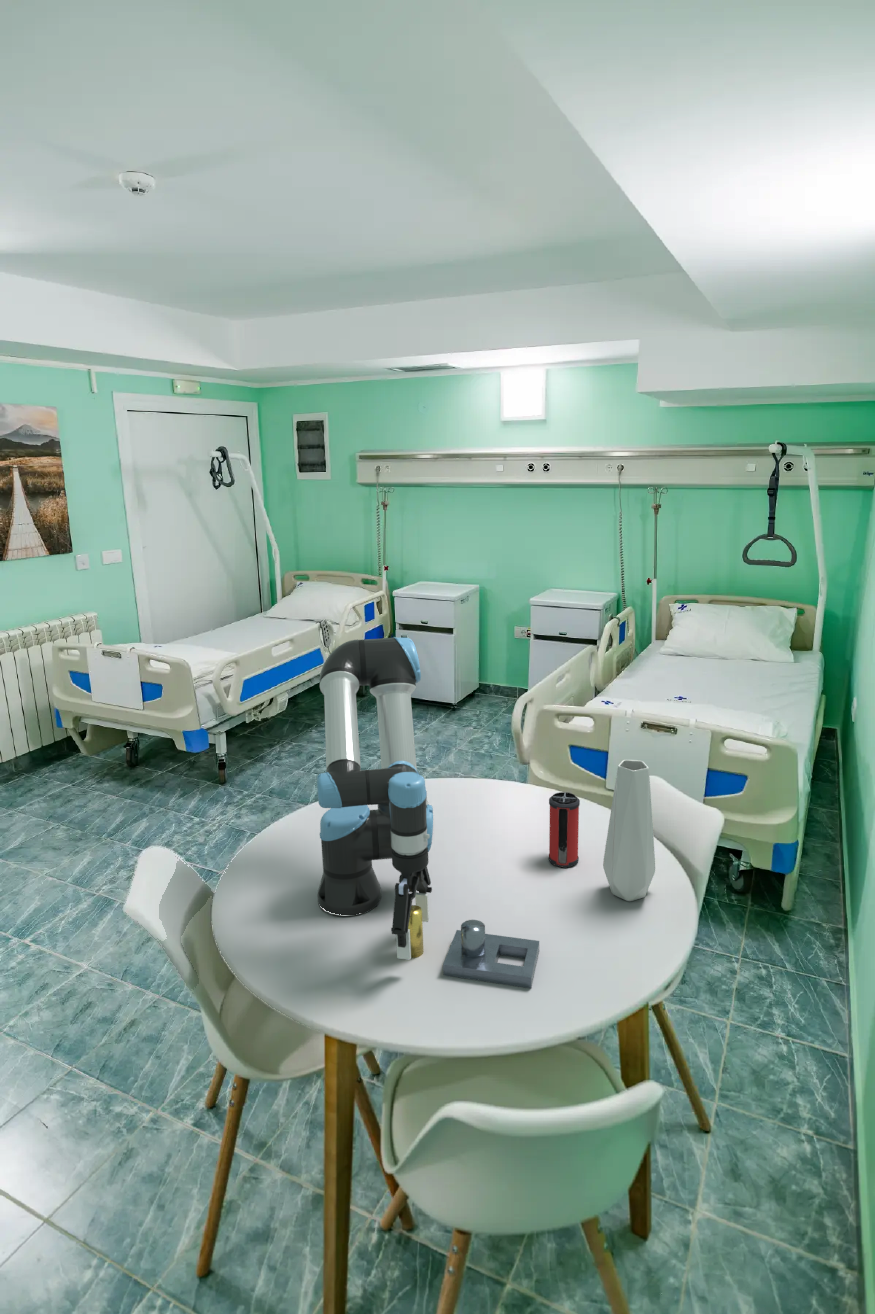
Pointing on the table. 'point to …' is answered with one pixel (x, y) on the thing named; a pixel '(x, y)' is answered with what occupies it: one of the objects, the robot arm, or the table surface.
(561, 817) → the speaker
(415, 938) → the round pin
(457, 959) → the gray peg plate
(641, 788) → the vase
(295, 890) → the table surface
